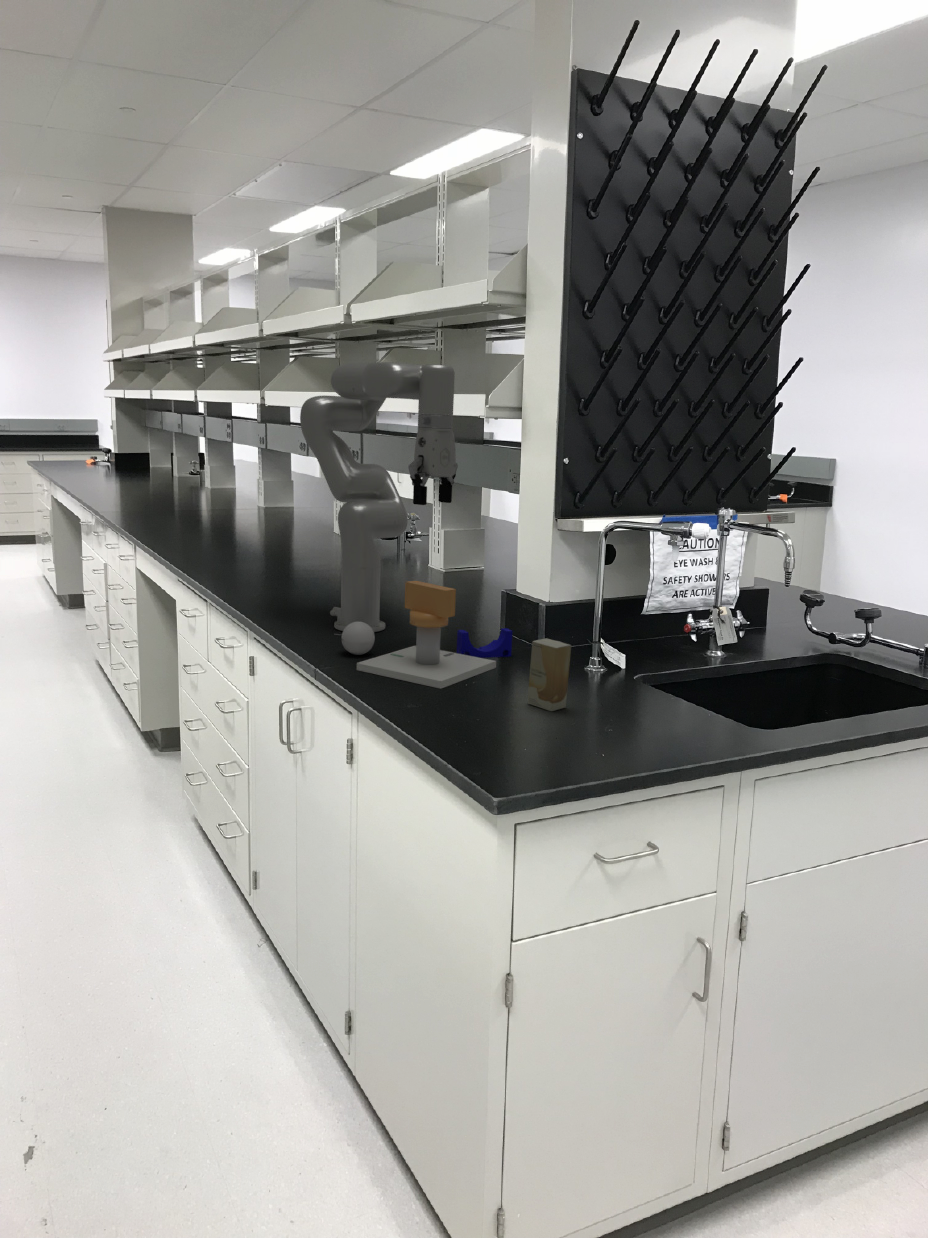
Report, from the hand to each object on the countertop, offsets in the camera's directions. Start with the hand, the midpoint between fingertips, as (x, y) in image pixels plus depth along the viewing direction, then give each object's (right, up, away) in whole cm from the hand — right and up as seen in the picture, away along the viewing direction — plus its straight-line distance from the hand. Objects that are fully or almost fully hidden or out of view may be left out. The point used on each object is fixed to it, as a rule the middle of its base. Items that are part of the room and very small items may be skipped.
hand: (432, 503), depth 205 cm
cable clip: (+11, -34, +5) cm, 36 cm away
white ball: (-18, -33, +2) cm, 38 cm away
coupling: (0, -26, -11) cm, 28 cm away
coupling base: (-1, -36, -9) cm, 37 cm away
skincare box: (+22, -42, -31) cm, 57 cm away
